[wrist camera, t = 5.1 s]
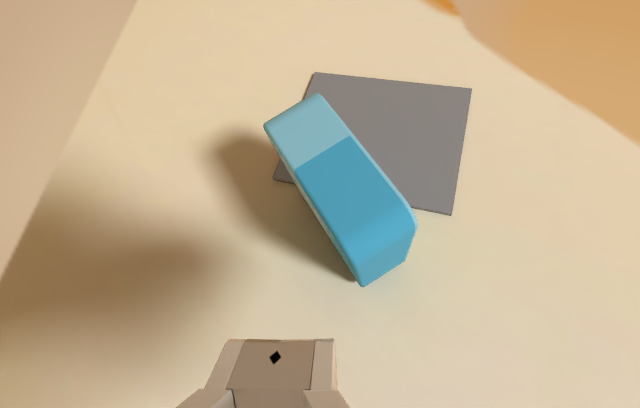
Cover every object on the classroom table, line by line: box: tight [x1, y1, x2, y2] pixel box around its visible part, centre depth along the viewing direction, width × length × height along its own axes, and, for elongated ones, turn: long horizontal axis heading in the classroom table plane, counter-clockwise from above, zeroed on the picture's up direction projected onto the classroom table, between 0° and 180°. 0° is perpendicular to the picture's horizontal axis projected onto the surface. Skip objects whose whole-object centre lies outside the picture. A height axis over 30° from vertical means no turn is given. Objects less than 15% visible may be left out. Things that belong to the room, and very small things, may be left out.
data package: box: [263, 93, 418, 287], centre depth 25 cm, size 12×4×12 cm, turn 30°
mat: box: [273, 72, 472, 216], centre depth 34 cm, size 15×18×1 cm
